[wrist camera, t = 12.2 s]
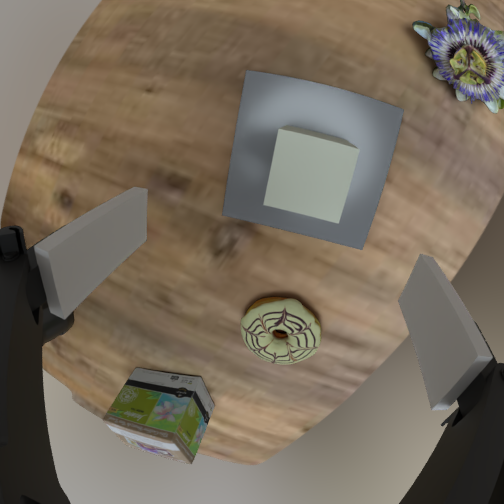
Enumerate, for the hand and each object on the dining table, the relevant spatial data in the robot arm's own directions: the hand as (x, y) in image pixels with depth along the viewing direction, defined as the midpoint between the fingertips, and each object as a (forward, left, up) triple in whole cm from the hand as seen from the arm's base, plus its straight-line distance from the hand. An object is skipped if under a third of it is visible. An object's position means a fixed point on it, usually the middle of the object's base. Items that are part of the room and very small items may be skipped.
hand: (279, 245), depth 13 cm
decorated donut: (+3, -21, -19) cm, 29 cm away
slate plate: (+1, +1, -19) cm, 19 cm away
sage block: (+1, +1, -18) cm, 18 cm away
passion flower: (+15, +18, -19) cm, 30 cm away
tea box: (-13, -45, -19) cm, 50 cm away
